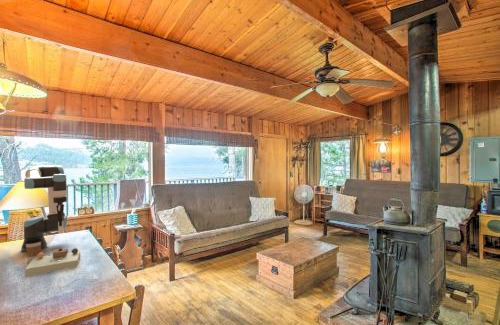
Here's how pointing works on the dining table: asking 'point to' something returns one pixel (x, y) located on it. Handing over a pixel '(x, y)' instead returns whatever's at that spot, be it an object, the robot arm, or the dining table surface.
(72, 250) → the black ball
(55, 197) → the robot arm
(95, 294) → the dining table surface
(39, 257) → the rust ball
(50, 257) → the deck
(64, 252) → the cover
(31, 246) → the coffee cup
